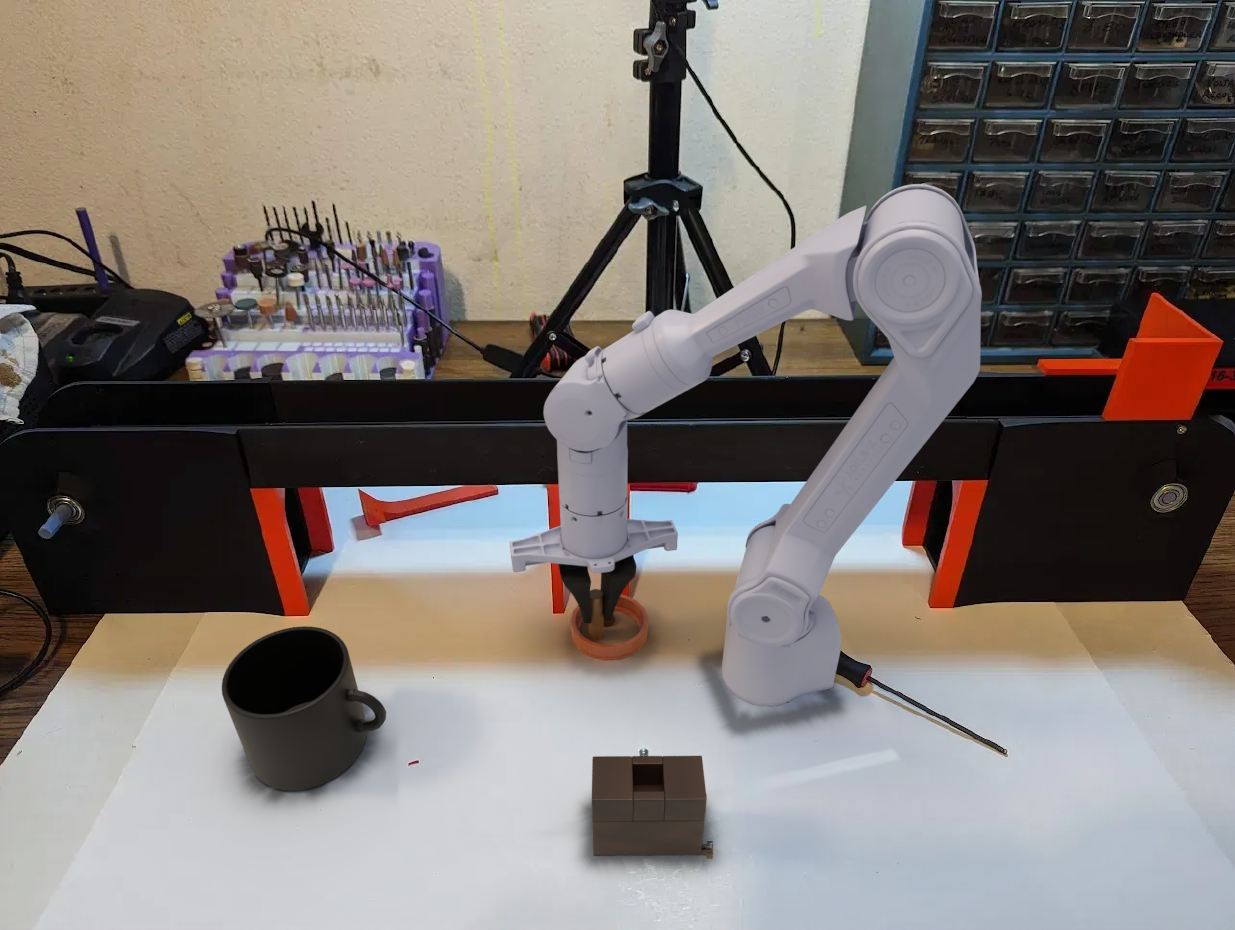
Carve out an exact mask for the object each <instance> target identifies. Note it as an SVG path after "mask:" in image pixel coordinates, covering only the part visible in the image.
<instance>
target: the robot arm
mask: <svg viewBox="0 0 1235 930" xmlns="http://www.w3.org/2000/svg"><path fill="white" fill-rule="evenodd" d="M866 210H867V205H863V206H861V207H859V208H856V209H854V210H851V211H849V212H847V213H846V214H844V215H842V216H841V217H839V218H838V219H836V220H835V221H832V222H831V223H830V224H828V225H826V226H824V227H823V228H822V229H820V230H818V231H817V232H816V233H814V234H812V235H810V236H809V237H807V238H806V239H805V240H803V241H802V242H800V243H798V244H797V245H796V246H794V247H793V248H791V249H789V250H788V251H786V252H785V253H783V254H782V255H780V256H779V257H777V258H776V259H774V260H773V261H771V262H770V263H768V264H767V265H766V266H764V267H763V268H760V269H759V270H758V271H757V272H755V273H754V274H752V275H750V276H749V277H747V278H746V279H744V280H743V281H741V282H740V283H738V284H736V285H735V286H734V287H733V288H731V289H729V290H728V291H727V292H725V293H723V294H722V295H721V296H719V297H717V298H716V299H714V300H713V301H711V302H710V303H709V304H706V305H705V306H704V307H703V308H701V309H699V310H698V311H696V312H695V313H690V312H687V311H682V310H679V309H666V310H664V311H663V312H661V313H660V314H657V315H656V316H655V315H654V313H653V312H652V311H651V310H648V311H646V312H644V313H642V314H641V315H640V316H638V317H637V318H636V319H635V321H634V322H633V323H632V325H631V328H632V331H631V332H629V333H628V334H626V335H624V336H623V337H621V338H620V339H618V340H616V341H615V342H613V343H611V344H610V345H608V346H607V347H605V348H603V349H602V348H601V347H600V346H599V345H596V346H595V347H593V348H592V349H590V350H589V351H588V352H587V353H586V354H585V355H584V356H582V357H580V358H579V359H577V360H576V361H575V362H574V363H573V364H572V365H571V367H570V368H569V369H568V370H567V371H566V373H564V375H563V376H562V377H561V379H560V380H559V381H558V383H556V384H555V386H554V387H553V389H552V390H551V391H550V393H549V394H548V396H547V398H546V399H545V402H544V405H543V418H544V423H545V425H546V428H547V429H548V431H549V432H550V434H551V435H552V436H553V437H554V438H555V440H556V450H557V451H556V454H557V455H556V458H557V479H558V497H559V499H558V500H559V513H560V514H559V518H560V525H558V526H556V527H553V528H550V529H548V530H545V531H542V532H539V533H537V534H534V535H531V536H529V537H526V538H522V539H517V540H511V541H509V549H510V551H509V552H510V560H511V561H510V562H511V568H512V572H513V573H521V572H525V571H526V569H527V567H530V566H535V565H542V564H557V566H558V570H559V574H560V578H561V581H562V583H563V585H564V587H565V588H566V589H567V590H568V592H570V594H571V595H572V596H573V598H574V599H575V602H576V604H577V606H578V605H579V608H580V612H581V616H582V620H583V623H582V624H584V625H589V623H591V618H592V617H591V609H590V590H591V586H592V580H591V579H592V578H591V575H590V573H593V574H600V575H601V576H600V588H599V590H601V591H602V592H603V616H604V619H605V621H608V620H612V618H613V615H614V613H615V611H614V610H615V607H616V605H617V602H618V600H619V598H620V596H621V595H623V592H624V590H625V589H626V587H627V586H628V585H629V583H630V582H631V581H632V580H633V579H634V578H635V577H636V573H637V563H636V560H635V555H636V554H639V553H641V552H644V551H645V550H651V549H652V550H653V549H658V548H659V549H660V548H663V549H664V551H666V552H672V551H677V550H678V537H679V532H678V530H677V528H676V526H675V524H674V521H673V520H672V519H669V520H645V519H635V518H628V505H629V504H628V502H629V501H628V498H629V496H628V484H629V483H628V471H629V469H628V467H629V466H628V465H629V459H628V458H629V449H628V420H632V419H636V418H639V417H641V416H643V415H645V414H646V413H648V412H650V411H652V410H655V409H656V408H657V407H659V406H661V405H663V404H665V403H667V402H668V401H670V400H672V399H674V398H676V397H678V396H679V395H682V394H683V393H685V392H687V391H689V390H691V389H693V388H695V387H696V386H698V385H699V384H702V383H704V382H705V381H707V380H708V378H709V377H710V375H711V372H712V369H713V362H714V358H715V356H718V355H719V354H721V353H724V352H725V351H727V350H729V349H732V348H733V347H736V346H737V345H739V344H741V343H742V344H743V342H745V341H748V340H750V339H752V338H753V337H756V336H758V335H760V334H762V333H763V332H765V331H768V330H770V329H771V328H774V327H776V326H778V325H780V324H782V323H784V322H786V321H787V320H788V321H789V320H790V319H792V318H794V317H796V316H798V315H800V314H802V313H804V312H806V311H809V310H815V311H818V312H821V313H824V314H827V315H829V316H833V317H835V318H838V319H842V320H844V321H854V318H855V313H856V308H857V303H858V304H859V306H860V307H861V309H862V311H863V312H864V314H866V316H867V317H868V319H870V320H871V322H872V323H873V324H874V325H875V326H876V327H877V329H879V330H880V332H882V334H883V335H884V336H885V338H887V340H888V343H889V346H890V349H891V352H892V354H893V358H892V359H891V361H890V362H889V363H888V364H887V366H886V368H885V369H884V371H883V372H882V373H881V375H880V376H879V377H878V379H877V381H875V383H874V385H873V386H872V388H871V389H870V390H869V391H868V394H867V395H866V396H865V398H864V399H863V400H862V402H861V403H860V405H859V406H858V408H857V409H856V410H855V412H854V414H852V416H851V418H850V419H849V420H848V422H847V423H846V425H845V426H844V428H843V429H842V430H841V432H840V433H839V435H838V436H837V437H836V439H835V440H834V442H833V443H832V445H831V446H830V447H829V449H828V450H827V452H826V453H825V455H824V456H823V458H821V460H820V462H819V463H818V465H817V466H816V467H815V469H814V470H813V472H812V473H811V474H810V476H809V477H808V479H807V480H806V482H805V483H804V484H803V486H802V487H801V488H800V490H799V492H798V493H797V495H795V497H794V499H793V500H792V501H791V503H784V504H782V505H781V507H780V508H779V510H778V511H777V512H776V513H775V515H773V516H772V517H770V518H769V519H766V520H764V521H762V522H760V523H758V524H756V525H755V526H754V527H753V528H752V529H751V530H750V532H749V533H748V535H747V538H746V541H745V551H744V554H743V558H742V561H741V565H740V568H739V571H738V574H737V579H736V581H735V584H734V588H733V592H731V594H730V596H729V598H728V602H727V606H726V613H727V614H726V625H725V633H724V644H723V652H722V663H721V677H722V680H723V682H724V684H725V686H726V687H727V689H728V690H729V691H730V692H731V693H732V694H733V695H734V696H735V697H736V698H738V699H740V700H742V701H744V702H745V703H748V704H750V705H754V706H759V707H778V706H782V705H784V704H787V703H789V702H791V701H793V700H794V699H796V698H798V697H800V696H801V697H802V696H804V695H807V694H811V693H815V692H821V691H825V690H829V689H832V688H834V683H835V679H836V674H837V669H838V664H839V660H840V654H841V652H842V651H841V650H842V635H841V627H840V624H839V620H838V617H837V615H836V612H835V610H834V609H833V606H832V605H831V603H830V602H829V601H828V599H827V598H826V597H824V596H823V595H821V594H820V593H821V591H822V589H823V587H824V584H825V581H826V579H827V577H828V575H829V572H830V569H831V568H832V565H833V562H834V560H835V559H836V556H837V554H838V553H839V552H840V551H841V549H842V548H843V547H844V546H845V544H846V543H847V542H848V541H849V539H850V538H851V537H852V535H854V533H855V532H856V531H857V529H858V528H859V527H860V526H861V524H862V523H863V522H864V521H865V520H866V518H867V517H868V516H869V514H870V512H872V510H873V509H874V508H875V507H876V505H877V504H878V503H879V502H880V501H881V499H883V496H884V495H885V494H886V493H887V492H888V491H889V489H891V486H893V484H894V483H895V482H896V480H897V479H898V478H899V477H900V475H901V474H902V473H903V472H904V470H905V469H906V468H907V467H908V466H909V464H910V463H911V462H912V460H913V459H914V458H915V456H916V455H917V454H918V453H919V452H920V451H921V449H922V448H923V446H924V445H925V444H926V443H927V442H928V440H929V439H930V438H931V436H932V435H933V433H935V431H936V430H937V429H938V428H939V427H940V425H941V424H942V423H943V422H944V420H945V419H946V418H947V416H948V415H949V414H950V413H951V411H952V410H953V409H954V408H955V406H957V404H958V402H960V400H961V399H962V398H963V397H964V395H965V394H966V393H967V392H968V390H969V389H970V388H971V386H972V385H973V384H974V382H975V381H976V379H977V377H978V375H979V373H980V369H981V333H982V332H981V327H982V326H981V325H982V324H981V323H982V321H981V319H982V318H981V315H982V314H981V313H982V307H981V306H982V298H983V292H982V286H981V284H980V277H979V270H978V262H977V261H978V260H977V252H976V251H977V250H976V245H975V242H974V239H973V236H972V234H971V231H970V229H969V225H968V224H967V221H966V218H965V216H964V213H963V211H962V209H961V207H960V205H959V204H958V203H957V201H956V200H955V198H954V197H952V196H951V195H950V194H949V193H948V192H946V191H945V190H943V189H941V188H939V187H936V186H934V185H930V184H924V183H914V184H913V183H911V184H907V185H906V184H905V185H902V186H900V187H897V188H895V189H892V190H891V191H888V192H887V193H886V194H884V195H883V196H881V197H880V198H879V199H878V200H877V201H876V202H875V203H874V205H873V206H872V207H871V209H870V210H869V212H868V213H867V215H866V212H867V211H866ZM865 215H866V217H865ZM864 219H865V220H864ZM588 568H589V569H588ZM589 572H590V573H589Z"/></svg>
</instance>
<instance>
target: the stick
mask: <svg viewBox="0 0 1235 930" xmlns="http://www.w3.org/2000/svg"><path fill="white" fill-rule="evenodd" d="M590 609H591V617H592V618H591V623H589V624H588V637H589V640H591V641H595V642H596V641H597V642H598V641H600V640H603V638H604V637H605V633H604V632H605V631H604V630H605V627H604V616H603V592H602V591H601V590H600V588H593V589H590Z"/></svg>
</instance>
